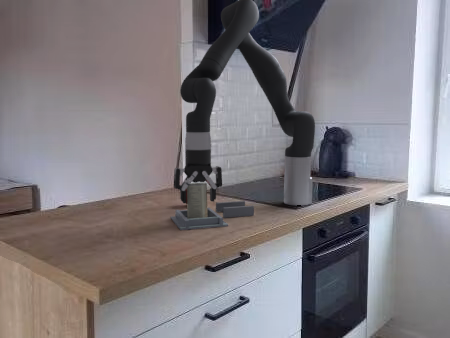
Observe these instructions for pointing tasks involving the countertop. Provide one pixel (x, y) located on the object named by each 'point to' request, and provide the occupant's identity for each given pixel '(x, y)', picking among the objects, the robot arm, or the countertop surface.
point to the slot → (234, 209)
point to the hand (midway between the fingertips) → (198, 202)
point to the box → (197, 200)
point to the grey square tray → (197, 220)
